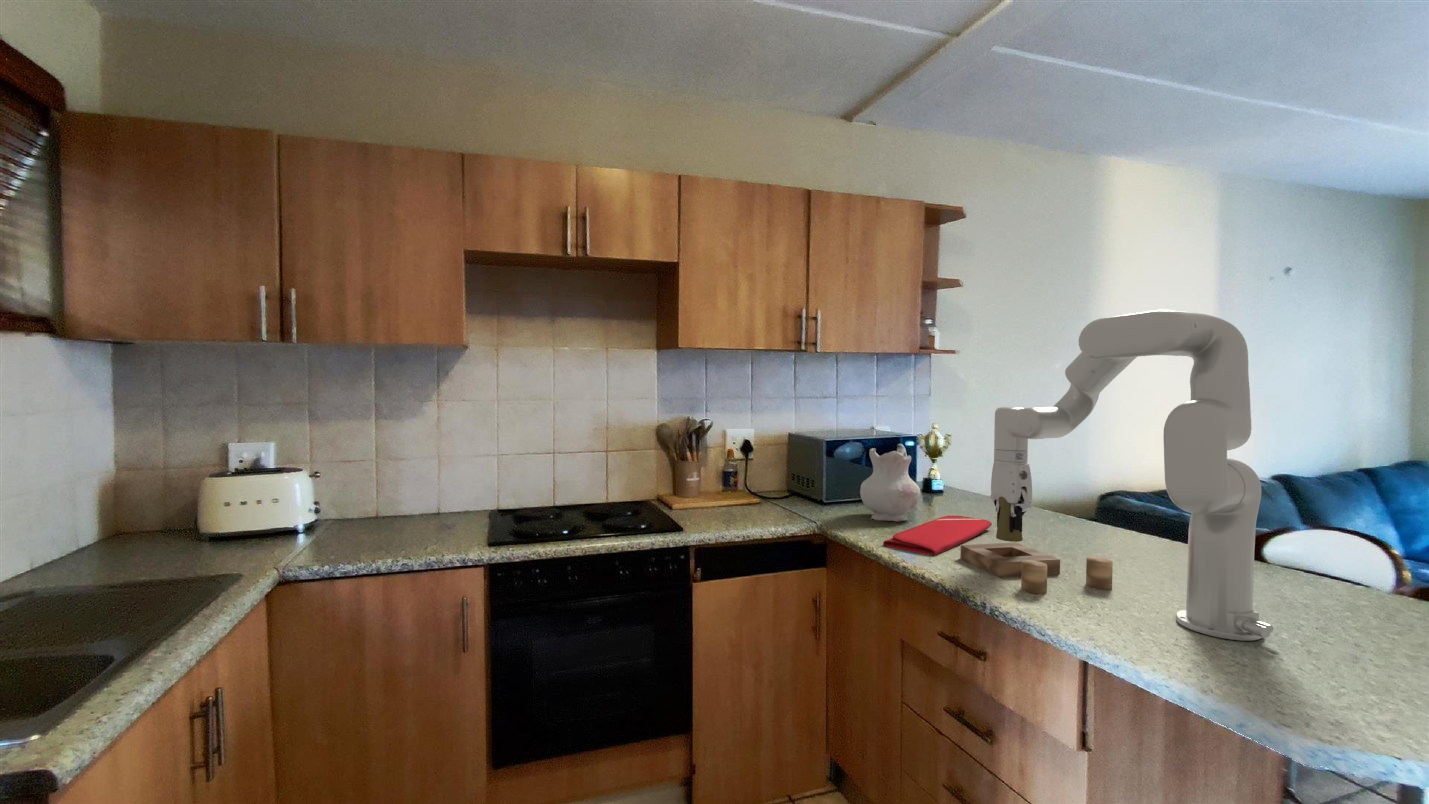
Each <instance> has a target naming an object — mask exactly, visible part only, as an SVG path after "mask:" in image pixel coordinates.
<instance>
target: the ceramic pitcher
mask: <svg viewBox="0 0 1429 804" xmlns="http://www.w3.org/2000/svg"><path fill="white" fill-rule="evenodd" d="M896 447H897V448H896V450H893V451H889V452H885V453H883V454H881V455H879V454H878V453H877V452H876V451H877V447H876V448H875V447H874V448H873V447H872V448H870V449H868V450H869V453H868V454H869V459H870V461H871V463H872V464H871V465H872V469H873V470H872V473H871V475H870V476H868V477H867V478H866V479H865V480H863V481H862V482H861V485H860V488H859V489H860V491H859V493H860V499H861V501H862V503H863V505H864V506H865V508H867V509H868V510H869V511H872V515H871V517H870V520H872V519H874V520H873V521H889V522H890V521H891V522H898V523H899V522H905V521H908V517H907V516H906V515H905V514H908V513H910V512H912V511H913V510H914V509H915V508H916V507H917V506H918V503H919V501H920V498H921V495H922V494H921V489H920V486H919V485H918V483H916V481H914V480H913V479H912V478H911V477H910V475H909V467H910V464H911V462H912V456H911V455H908V454H907V450H906V447H905V446H904V444H902V443H897V445H896Z"/></svg>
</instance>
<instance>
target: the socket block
mask: <svg viewBox="0 0 1429 804" xmlns="http://www.w3.org/2000/svg"><path fill="white" fill-rule="evenodd" d="M959 557H960V559H961V560H963V561H965V562H967V563H970V564H971V565H973V566H975V567H977V568H979V569H982V570H984V571H986V572H988V573H990V574H992V575H994V576H996V577H998V578H1012V577H1015V578H1017V577H1021V569H1022V561H1025V560H1032V561H1039V562H1043V563H1045V564H1047V574H1051V575H1060V573H1061V558H1057V557H1054V556H1052V555H1050V554H1047V553H1044V552H1042V551H1039V550H1037V549H1034V548H1031V547H1029V546H1026V545H1023V544H1021V543H1019V542H1000V543H997V542H995V543H979V544H978V543H976V544H973V543H971V544H960V556H959Z"/></svg>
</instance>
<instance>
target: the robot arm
mask: <svg viewBox="0 0 1429 804" xmlns="http://www.w3.org/2000/svg"><path fill="white" fill-rule="evenodd" d="M1078 347H1079V349H1080V351H1081V352H1080V353H1079V354H1078V355H1077V357H1075V358H1074V360H1073V361H1071V363H1069V364H1068V365H1067V367H1066V369H1065V370H1064V374H1065V377H1066V379H1067V381H1068V382H1069V383H1070V385H1069V388H1068V390H1067V391H1066V393H1065V394H1064V395H1063V396H1062V397H1061V398H1060V399H1059V400H1058V401H1057V402H1056V403H1055V404H1054V405H1053V406H1040V407H1038V406H1037V407H1035V406H1034V407H1018V406H1015V407H1014V406H1001V407H998V408H996V409H995V411H994V432H993V434H994V435H993V437H994V440H993V441H994V442H993V446H994V447H993V465H992V471H991V480H990V481H991V482H990V491H991V493H990V499H991V500H992V502H993V504H994V506H995V511H996V528H998V521H999V515H1000V509H1001V507H1000V505H999V502H998V499H999V497H1004V498H1005V499H1006V501H1007V502H1008V503H1010V504H1011V507H1010V508H1011V516H1009V530H1010V532H1011V533H1012V532H1013V530H1014V529H1015V530H1019V532H1020V533H1021V532H1022V533H1023V517H1025V513H1026V512H1028V511H1029V510H1030V509H1031V508H1032V502H1033V482H1032V472H1031V467H1030V464H1029V463H1028V454H1029V453H1028V451H1029V450H1028V449H1029V448H1028V446H1029V445H1028V444H1029V443H1028V442H1029V440H1043V439H1045V440H1046V439H1058V438H1063V437H1065V436H1067V435H1069V434H1070V433H1072V432H1073V431H1074V430H1076V429H1077V428H1078V426H1079V425H1081V424H1082V423H1083V422H1084V421H1085V420H1086V419H1087V418H1088V417H1089V416H1090V415H1091V414H1092V412H1093V410H1094V408H1095V407H1096V404H1097V402H1098V401H1099V396H1100V394H1101V392H1103V390H1104V389H1105V388H1106V387H1107V386H1109V385H1110V383H1111V382H1112V381H1114V379H1115V378H1116V377H1118V376H1119V375H1120V374H1121V373H1122V372H1123V371H1124V370H1125V369H1126V368H1127V367H1128V366H1129V365H1131V364H1132V363H1133V361H1135V360H1136V359H1137V358H1138V357H1147V356H1172V357H1173V356H1174V357H1177V356H1179V357H1188V358H1191V359H1192V361H1193V365H1192V368H1191V371H1190V372H1191V373H1190V377H1189V385H1190V401H1186V402H1182V403H1181V404H1179V405H1177V406H1175V407H1174V408H1173V409H1172V410H1171V411H1170V413H1168V416H1167V418H1166V420H1165V422H1164V426H1163V461H1164V463H1163V464H1164V466H1163V467H1164V468H1163V470H1164V485H1165V489H1166V493H1167V494H1168V497H1169V498H1170V500H1171V502H1172V503H1173V504H1174V505H1175V506H1177V507H1178V508H1179V509H1180V510H1182V511H1184V512H1186V513H1189V514H1191V515H1190V518H1189V523H1188V524H1189V525H1188V540H1187V572H1186V573H1187V574H1186V598H1185V599H1186V604H1185V605H1186V607H1185V609H1182V610H1179V611H1177V612H1176V613H1175V620H1176V621H1177V622H1178V623H1179V624H1180V625H1181V626H1183V627H1185V628H1186V629H1189V630H1191V631H1194V632H1197V633H1201V634H1204V635H1207V636H1211V637H1215V638H1219V639H1224V640H1225V639H1227V640H1233V641H1242V642H1243V641H1245V642H1247V641H1248V642H1250V641H1257V640H1260V639H1262V638H1263V639H1267V638H1268V637H1270V635H1271V633H1273V631H1274V627H1273V625H1272V624H1269V623H1266V622H1262V621H1260V619H1259V617H1260V612H1259V611H1256V610H1253V608H1254V607H1253V604H1254V603H1253V602H1254V577H1255V576H1254V575H1255V550H1256V548H1255V547H1256V546H1255V545H1256V528H1257V520H1258V515H1259V510H1260V506H1261V505H1260V504H1261V501H1262V484H1261V480H1260V477H1259V476H1258V474H1257V472H1256V471H1255V470H1254V469H1253V468H1252V467H1251V466H1249V465H1247V464H1246V463H1244V462H1243V461H1240V460H1237V459H1233V458H1228V451H1231V450H1235V449H1238V448H1240V447H1242V446H1244V445H1245V444H1246V443H1247V442H1249V439H1250V438H1251V437H1250V436H1251V435H1252V417H1251V416H1252V414H1251V413H1252V411H1251V391H1250V389H1251V388H1250V378H1249V377H1250V376H1249V350H1248V345H1247V341H1246V339H1245V337H1244V335H1243V334H1242V332H1241V331H1240V330H1239V329H1238V327H1236V326H1235V325H1234V324H1232V323H1231V322H1229V321H1227V320H1225V319H1222V318H1220V317H1217V316H1213V315H1210V314H1205V313H1199V312H1194V311H1183V310H1181V311H1180V310H1174V309H1173V310H1172V309H1157V310H1149V311H1143V312H1136V313H1128V314H1123V315H1113V316H1107V317H1102V318H1097V319H1095V320H1092V321H1091V322H1089V323H1087V325H1085V326H1084V327H1083V329H1082V330H1081V332H1080V334H1079V337H1078ZM1018 501H1020V503H1018ZM1017 503H1018V504H1017ZM1015 506H1019V507H1018V508H1017V509H1016V507H1015Z"/></svg>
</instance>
